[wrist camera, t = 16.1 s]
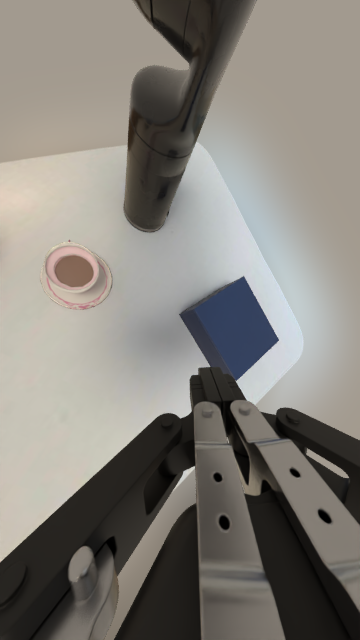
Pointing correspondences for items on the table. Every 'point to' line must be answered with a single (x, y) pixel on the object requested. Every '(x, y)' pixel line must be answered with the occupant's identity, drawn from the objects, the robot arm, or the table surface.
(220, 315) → the lid
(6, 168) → the table surface
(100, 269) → the teacup
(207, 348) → the case
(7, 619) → the robot arm
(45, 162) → the table surface
